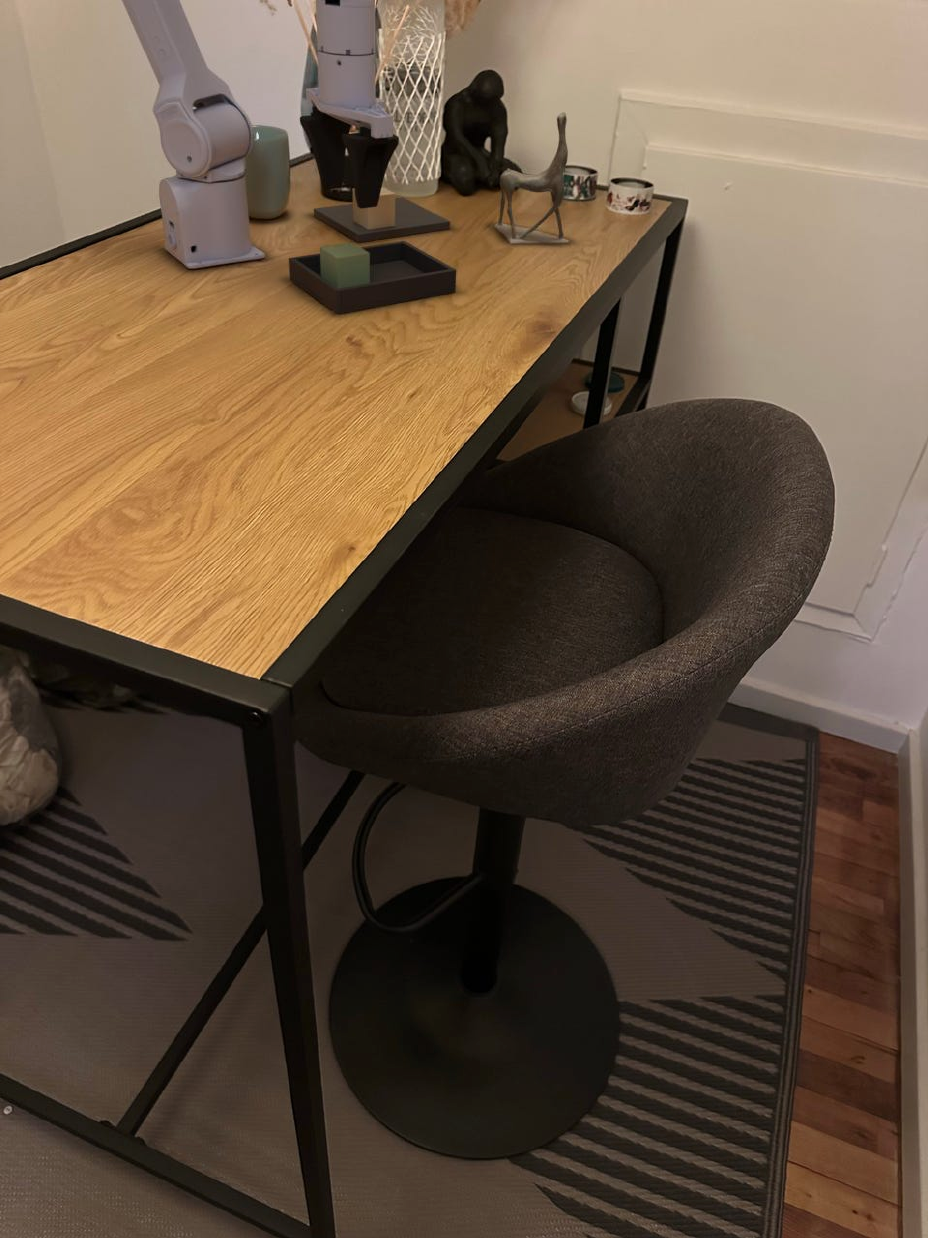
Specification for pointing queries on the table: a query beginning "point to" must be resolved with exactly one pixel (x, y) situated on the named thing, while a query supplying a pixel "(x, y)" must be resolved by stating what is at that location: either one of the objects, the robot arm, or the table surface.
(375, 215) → the cream block
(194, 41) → the robot arm
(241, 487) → the table surface
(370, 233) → the board
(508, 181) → the figurine
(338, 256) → the sage block
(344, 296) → the tray
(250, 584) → the table surface
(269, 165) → the cup
